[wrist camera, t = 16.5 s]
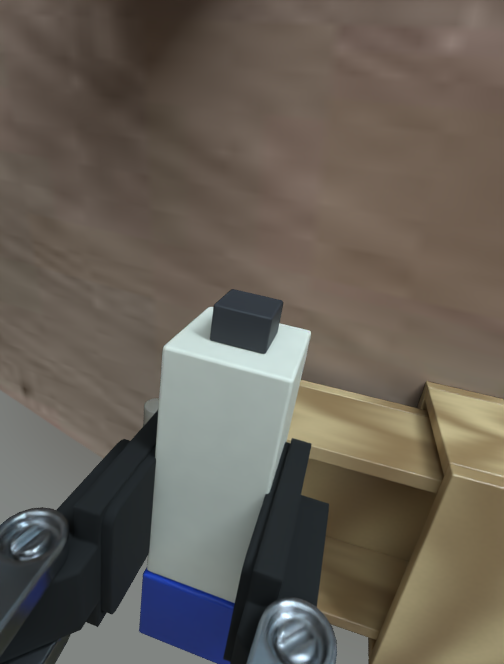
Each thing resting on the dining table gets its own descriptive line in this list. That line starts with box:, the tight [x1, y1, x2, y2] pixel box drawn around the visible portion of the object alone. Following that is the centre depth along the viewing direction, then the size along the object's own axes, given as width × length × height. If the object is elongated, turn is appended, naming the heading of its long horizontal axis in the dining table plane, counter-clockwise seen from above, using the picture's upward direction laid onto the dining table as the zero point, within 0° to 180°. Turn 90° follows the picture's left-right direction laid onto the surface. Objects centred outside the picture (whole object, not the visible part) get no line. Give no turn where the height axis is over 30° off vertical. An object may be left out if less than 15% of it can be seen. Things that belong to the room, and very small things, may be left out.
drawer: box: [143, 380, 445, 640], centre depth 26 cm, size 20×13×7 cm
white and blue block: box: [139, 289, 311, 664], centre depth 10 cm, size 10×3×3 cm, turn 171°
